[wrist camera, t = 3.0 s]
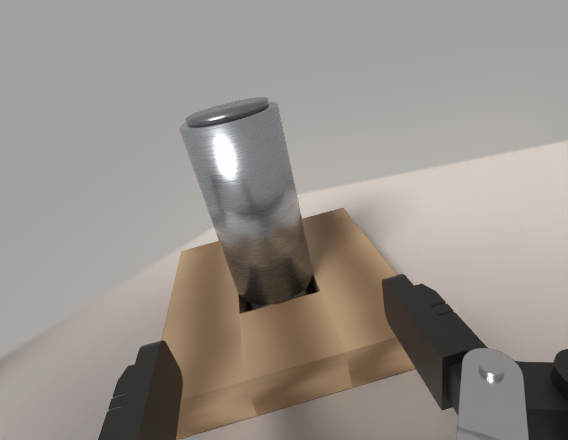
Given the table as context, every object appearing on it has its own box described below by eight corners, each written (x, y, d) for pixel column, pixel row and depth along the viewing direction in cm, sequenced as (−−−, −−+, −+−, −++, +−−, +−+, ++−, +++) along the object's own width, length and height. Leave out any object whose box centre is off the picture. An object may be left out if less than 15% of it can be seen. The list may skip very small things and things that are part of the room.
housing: (167, 442, 18) (145, 410, 17) (192, 276, 33) (181, 251, 31) (437, 362, 19) (437, 325, 18) (346, 234, 33) (343, 207, 32)
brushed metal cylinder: (249, 346, 23) (169, 130, 16) (245, 295, 28) (182, 113, 21) (328, 324, 24) (283, 101, 17) (310, 276, 29) (269, 91, 22)
